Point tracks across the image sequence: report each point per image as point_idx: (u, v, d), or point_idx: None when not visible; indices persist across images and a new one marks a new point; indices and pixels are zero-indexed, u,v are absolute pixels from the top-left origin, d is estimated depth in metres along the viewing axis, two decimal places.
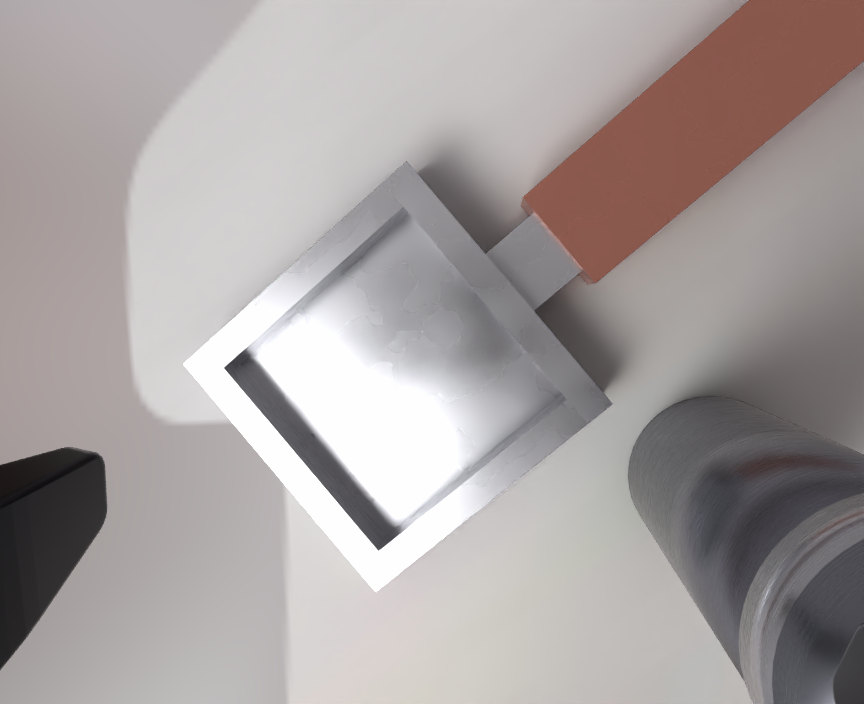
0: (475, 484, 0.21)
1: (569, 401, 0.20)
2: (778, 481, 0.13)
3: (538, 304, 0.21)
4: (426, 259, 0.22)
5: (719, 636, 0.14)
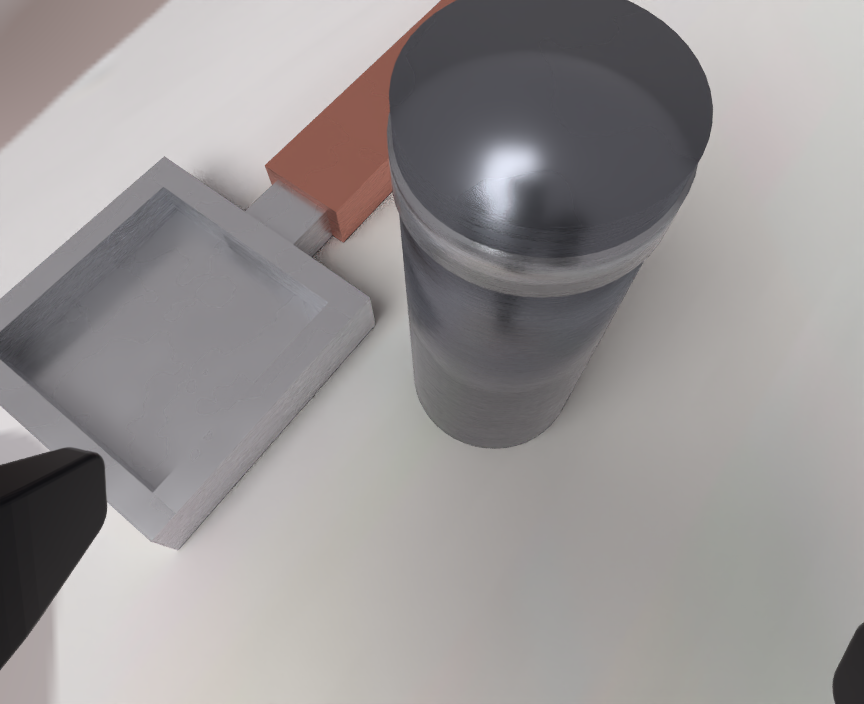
0: (251, 397, 0.20)
1: (330, 303, 0.22)
2: None
3: (292, 241, 0.23)
4: (195, 242, 0.25)
5: (421, 285, 0.14)
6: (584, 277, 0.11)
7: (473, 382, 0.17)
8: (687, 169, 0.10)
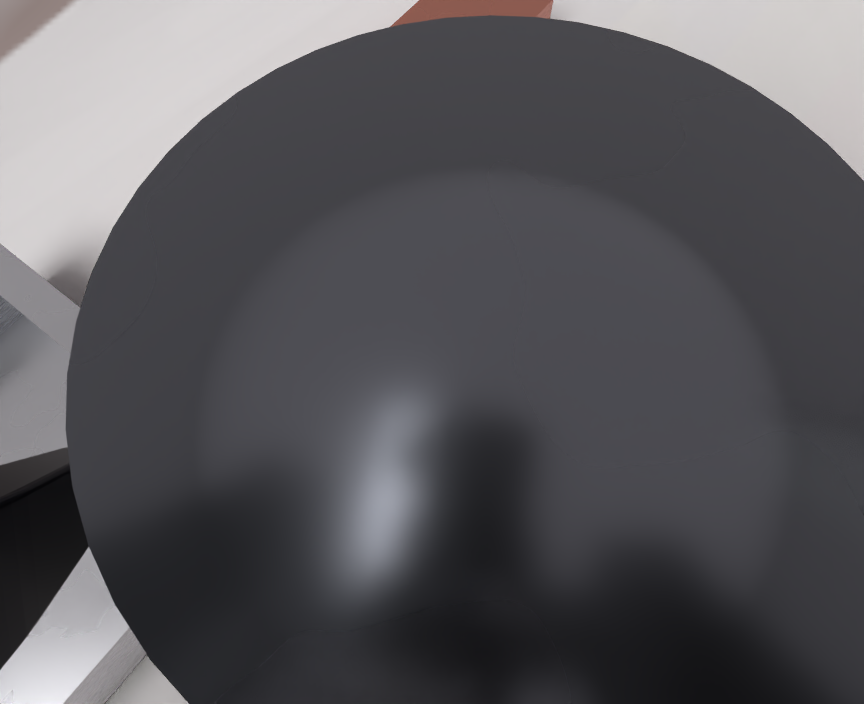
0: (81, 631, 0.13)
1: None
2: None
3: None
4: (43, 360, 0.18)
5: None
6: None
7: None
8: None
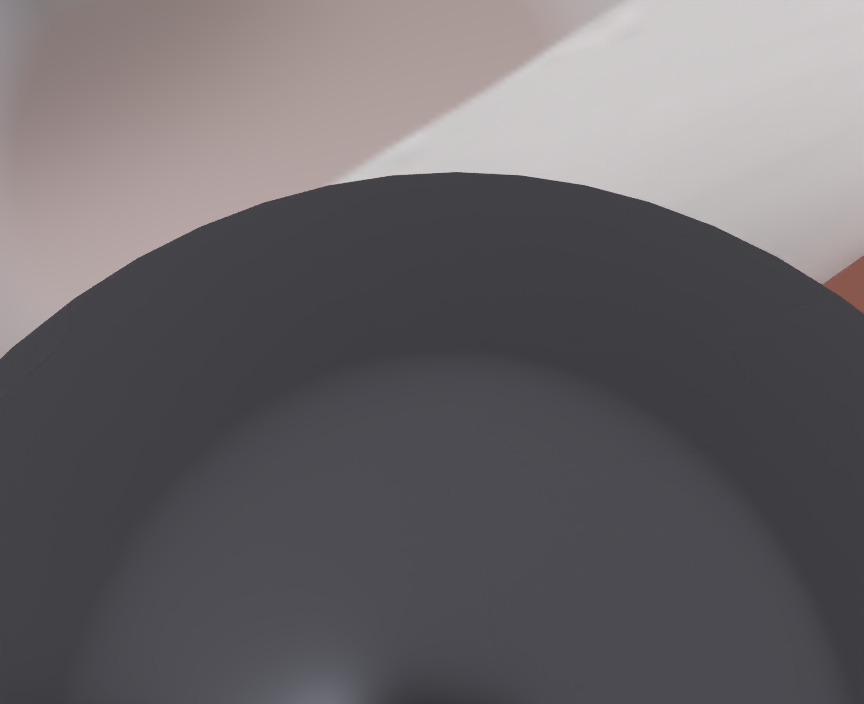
0: None
1: None
2: None
3: None
4: None
5: None
6: None
7: None
8: None
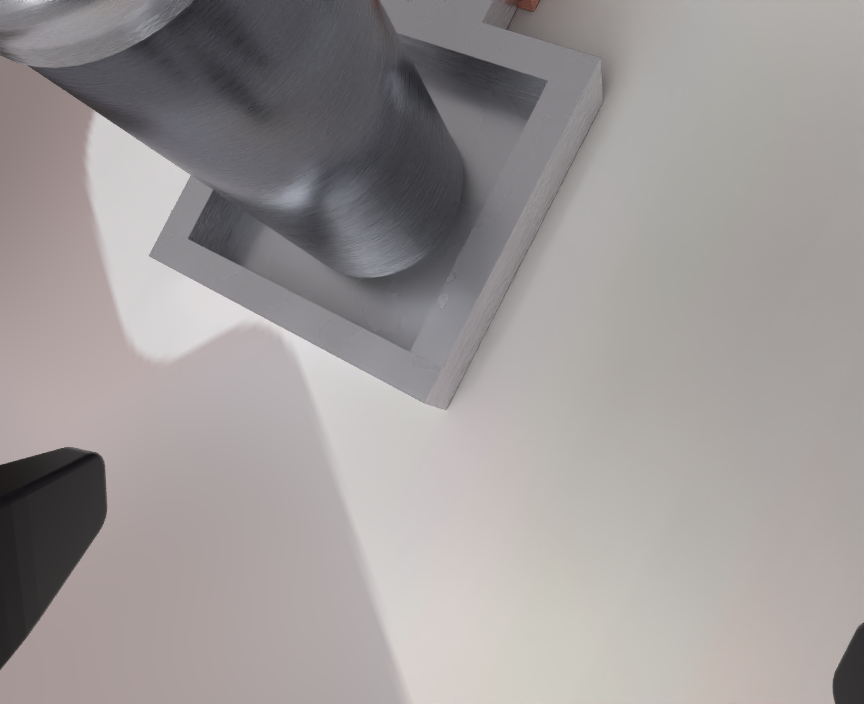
0: (488, 220, 0.17)
1: (551, 81, 0.17)
2: None
3: (478, 21, 0.18)
4: None
5: (108, 118, 0.11)
6: None
7: (288, 199, 0.14)
8: None
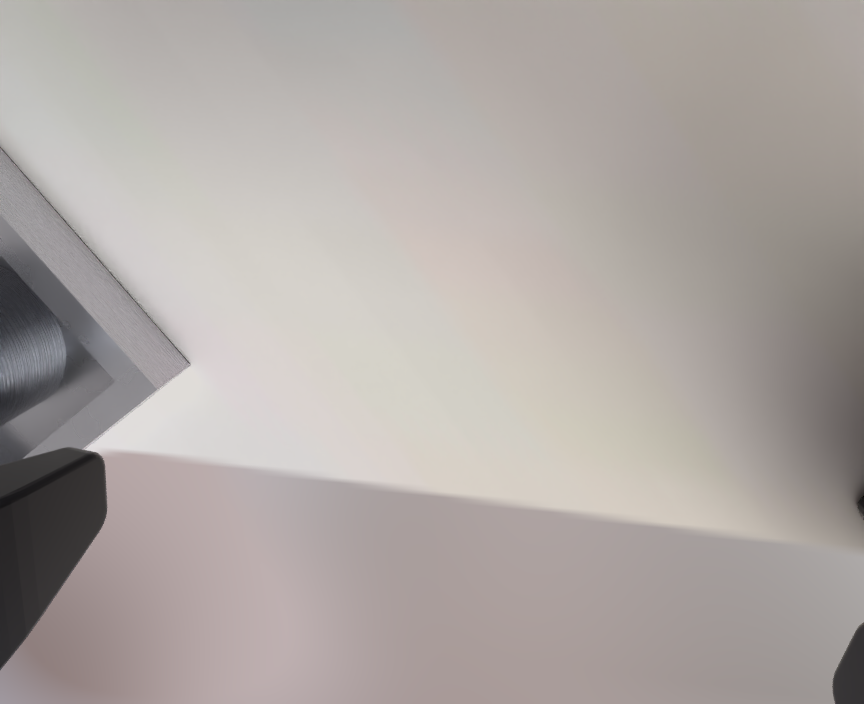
0: (30, 276, 0.20)
1: None
2: None
3: None
4: None
5: None
6: None
7: None
8: None
